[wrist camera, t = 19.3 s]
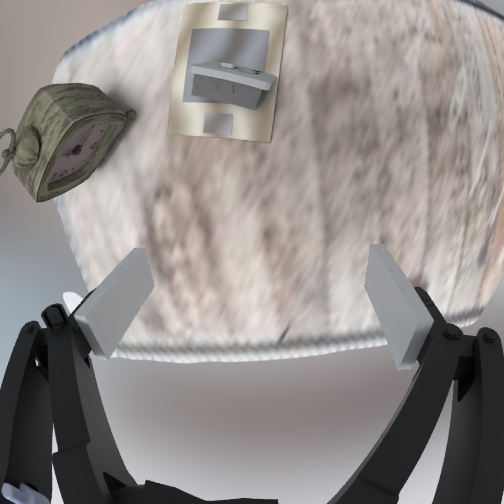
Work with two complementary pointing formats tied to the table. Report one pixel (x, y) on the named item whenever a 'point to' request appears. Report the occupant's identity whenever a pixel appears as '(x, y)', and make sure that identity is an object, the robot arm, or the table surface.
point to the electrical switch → (230, 83)
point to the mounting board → (232, 52)
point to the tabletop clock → (63, 138)
